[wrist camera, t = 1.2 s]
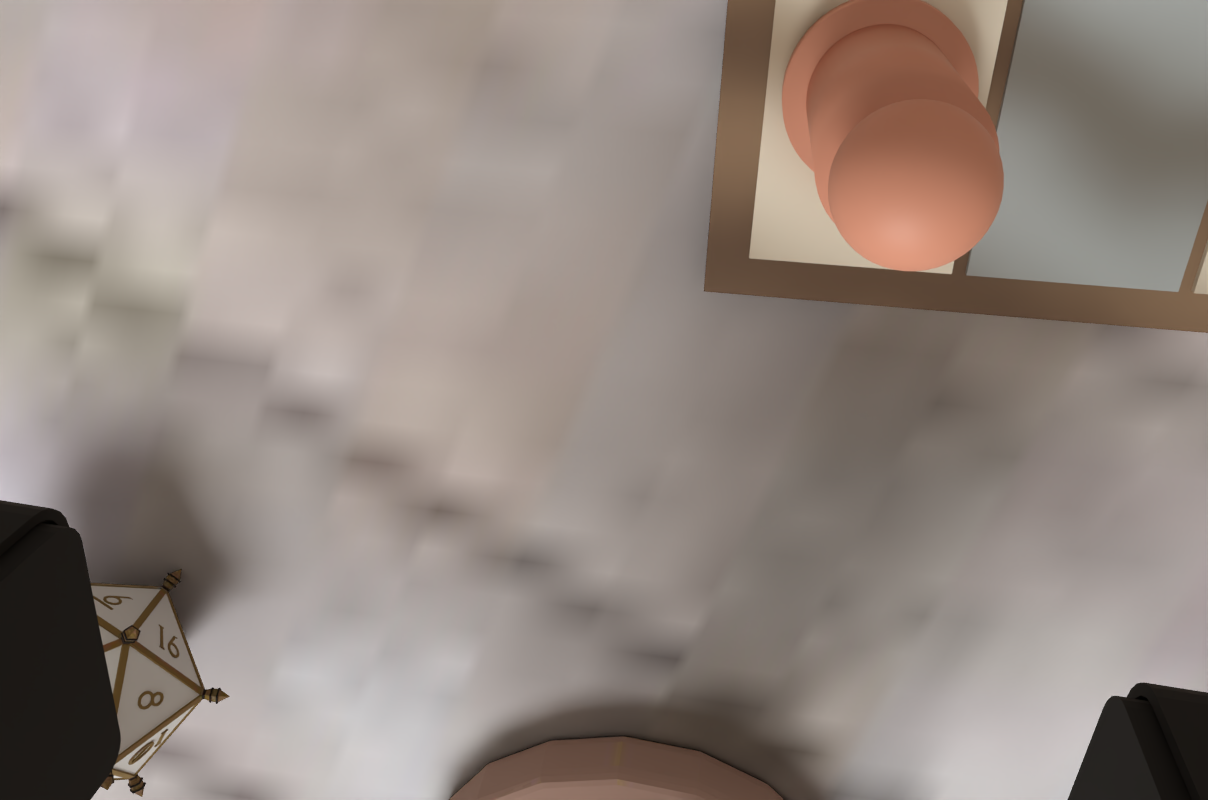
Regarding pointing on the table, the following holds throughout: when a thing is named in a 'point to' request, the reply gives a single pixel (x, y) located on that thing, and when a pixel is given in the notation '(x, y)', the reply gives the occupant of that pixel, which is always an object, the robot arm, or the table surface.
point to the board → (1030, 164)
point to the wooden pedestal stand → (612, 774)
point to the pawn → (895, 132)
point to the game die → (146, 671)
